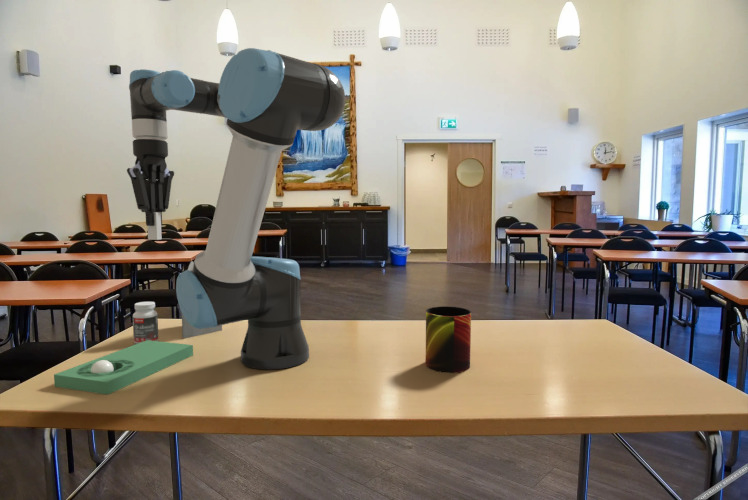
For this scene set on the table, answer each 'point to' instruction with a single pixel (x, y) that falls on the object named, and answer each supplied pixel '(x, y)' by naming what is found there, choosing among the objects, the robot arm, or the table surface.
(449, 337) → the mug
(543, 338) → the table surface
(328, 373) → the table surface
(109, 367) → the ball
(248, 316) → the robot arm
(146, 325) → the pill bottle
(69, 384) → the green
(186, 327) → the planter
